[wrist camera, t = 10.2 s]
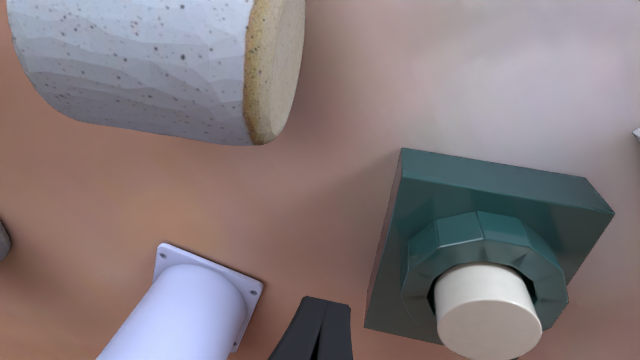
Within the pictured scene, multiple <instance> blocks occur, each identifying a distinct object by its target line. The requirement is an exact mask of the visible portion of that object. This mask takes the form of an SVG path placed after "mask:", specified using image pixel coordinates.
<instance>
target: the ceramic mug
mask: <svg viewBox="0 0 640 360" xmlns="http://www.w3.org/2000/svg"><path fill="white" fill-rule="evenodd" d="M7 13H8V22H9V26H10V29H11V31H12V42H13V45H14V48H15V52H16V54H17V56H18V59H19V61H20V63H21V66H22V68H23V70H24V72H25V74H26V75H27V77H28V78H29V80H30V81H31V83H32V85H33V87H34V88H35V90H36V91H37V92H38V93H39V94H40V96H41V97H42V98H43V99H44V100H45V101H46V102H47V103H48V104H49V105H51V106H52V107H53V108H54V109H56V110H57V111H58V112H60V113H62V114H64V115H66V116H67V117H70V118H72V119H75V120H77V121H81V122H86V123H91V124H97V125H105V126H112V127H118V128H124V129H130V130H137V131H142V132H149V133H154V134H160V135H168V136H176V137H182V138H187V139H193V140H198V141H204V142H209V143H215V144H222V145H233V146H250V145H264V144H267V143H269V142H271V141H272V140H274V139H275V138H276V137H277V136H278V135H279V134H280V133H281V131H282V129H283V128H284V126H285V124H286V121H287V119H288V116H289V113H290V110H291V107H292V103H293V99H294V95H295V91H296V86H297V82H298V77H299V71H300V65H301V59H302V51H303V42H304V29H305V0H7Z"/></svg>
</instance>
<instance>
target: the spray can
mask: <svg viewBox="0 0 640 360" xmlns="http://www.w3.org/2000/svg"><path fill="white" fill-rule="evenodd" d="M10 245H11V241H10V239H9V236H8V235H7V233H6V231H5V229H4V227H3V225H2V223H1V222H0V261H2V260H3V259H4V258H5V257H6V255H7V254H8V251H9V249H10Z"/></svg>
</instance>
